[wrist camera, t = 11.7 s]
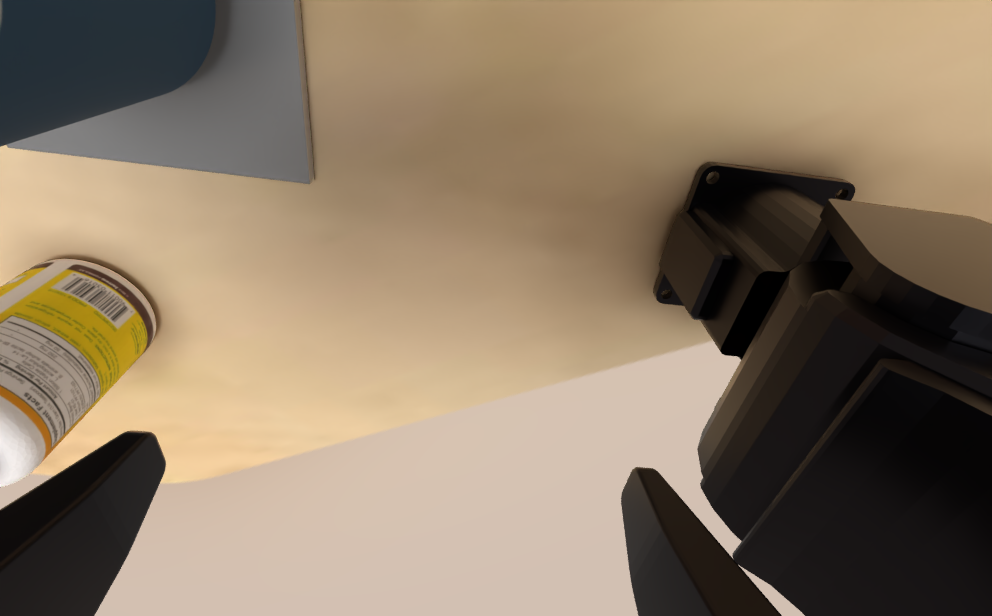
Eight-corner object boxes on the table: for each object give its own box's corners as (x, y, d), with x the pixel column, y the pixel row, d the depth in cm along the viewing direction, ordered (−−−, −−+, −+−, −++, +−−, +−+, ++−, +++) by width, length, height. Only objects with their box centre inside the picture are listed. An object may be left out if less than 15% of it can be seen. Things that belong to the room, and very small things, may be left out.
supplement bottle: (51, 341, 23) (-195, 539, 15) (15, 241, 20) (-319, 420, 12) (171, 359, 24) (1, 558, 16) (153, 266, 21) (-69, 450, 13)
